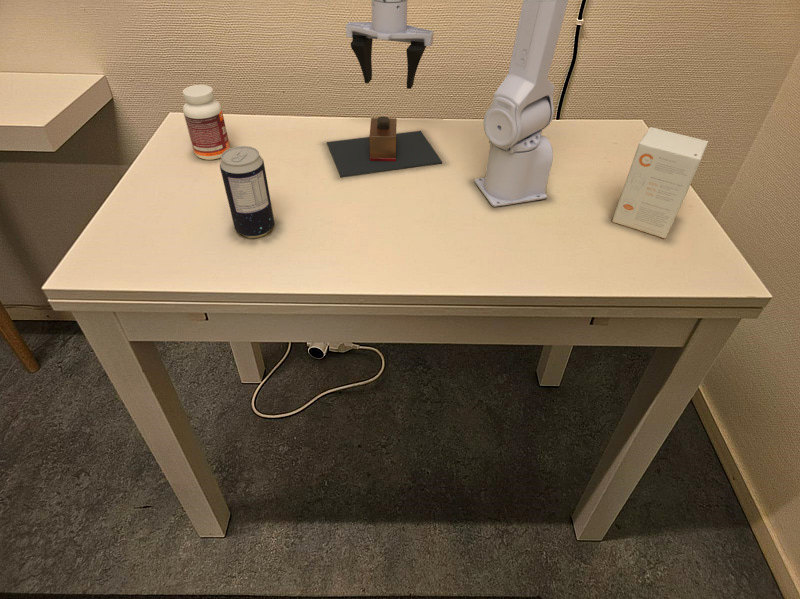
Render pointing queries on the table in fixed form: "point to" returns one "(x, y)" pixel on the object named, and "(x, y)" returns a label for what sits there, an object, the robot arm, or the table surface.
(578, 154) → the table surface
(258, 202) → the beverage can
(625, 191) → the small box
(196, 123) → the pill bottle
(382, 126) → the stamp
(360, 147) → the desk mat
